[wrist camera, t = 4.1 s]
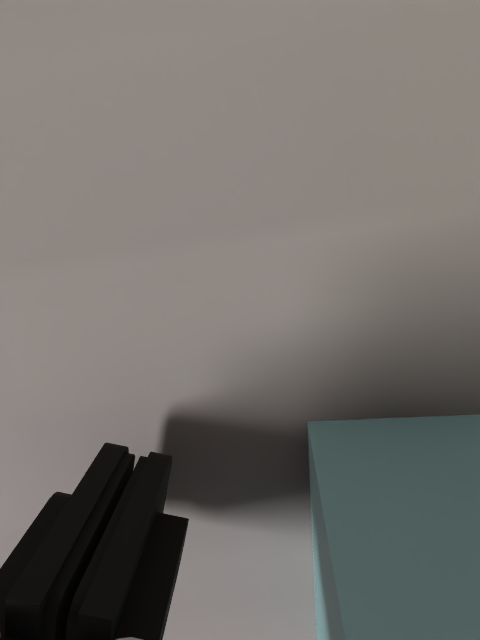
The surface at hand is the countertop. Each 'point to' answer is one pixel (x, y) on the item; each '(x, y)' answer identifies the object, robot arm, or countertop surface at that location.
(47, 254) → the countertop surface
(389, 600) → the carton
